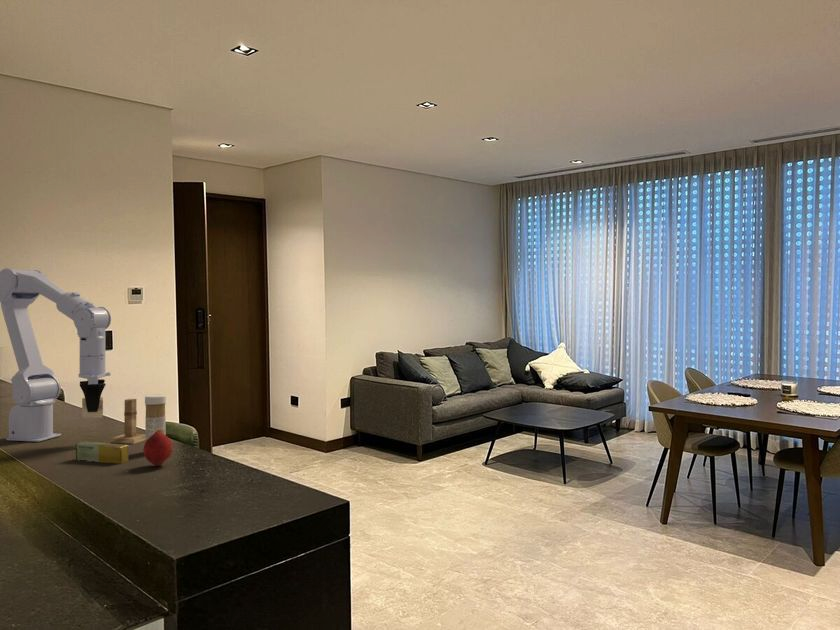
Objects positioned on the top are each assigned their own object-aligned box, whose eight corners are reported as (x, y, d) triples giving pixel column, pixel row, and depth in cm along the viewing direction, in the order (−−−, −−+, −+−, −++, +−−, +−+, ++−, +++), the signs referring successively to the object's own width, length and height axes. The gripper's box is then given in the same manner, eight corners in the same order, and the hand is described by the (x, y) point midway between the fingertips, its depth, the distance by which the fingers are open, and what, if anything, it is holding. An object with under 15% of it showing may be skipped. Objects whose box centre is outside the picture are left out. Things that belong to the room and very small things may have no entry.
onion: (161, 470, 132) (162, 432, 132) (137, 468, 133) (137, 431, 133) (178, 463, 138) (178, 427, 138) (154, 462, 139) (154, 426, 139)
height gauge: (112, 442, 158) (112, 400, 158) (126, 437, 164) (126, 397, 164) (134, 443, 157) (134, 401, 157) (148, 438, 163) (148, 398, 163)
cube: (82, 416, 157) (82, 398, 157) (102, 414, 159) (102, 397, 159) (82, 419, 153) (82, 400, 153) (102, 417, 155) (102, 399, 155)
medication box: (74, 461, 140) (74, 443, 140) (83, 458, 143) (83, 440, 142) (121, 465, 137) (121, 446, 137) (129, 461, 140) (129, 443, 140)
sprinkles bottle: (162, 448, 152) (162, 393, 152) (168, 452, 148) (168, 395, 148) (142, 451, 149) (142, 394, 149) (148, 455, 145) (148, 397, 145)
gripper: (111, 357, 152) (111, 413, 152) (109, 353, 164) (109, 405, 165) (78, 358, 148) (78, 415, 148) (78, 354, 161) (78, 406, 161)
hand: (92, 410), depth 156 cm, fingers closed on cube, 4 cm apart
